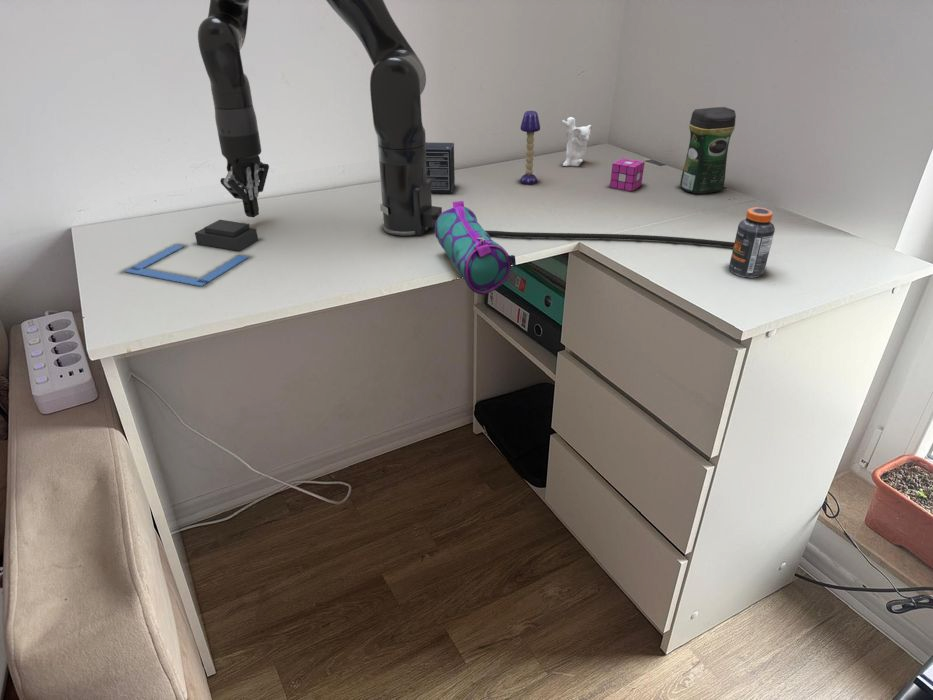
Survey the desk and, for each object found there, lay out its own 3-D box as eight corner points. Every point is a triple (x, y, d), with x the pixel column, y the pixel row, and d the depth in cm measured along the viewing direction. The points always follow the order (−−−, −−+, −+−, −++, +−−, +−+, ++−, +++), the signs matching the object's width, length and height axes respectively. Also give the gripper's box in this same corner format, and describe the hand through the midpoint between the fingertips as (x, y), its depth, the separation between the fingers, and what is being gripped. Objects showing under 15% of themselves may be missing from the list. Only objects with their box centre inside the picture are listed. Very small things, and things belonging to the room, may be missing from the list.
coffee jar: (708, 182, 162) (723, 102, 152) (728, 192, 155) (745, 110, 146) (673, 185, 160) (686, 105, 150) (691, 196, 153) (706, 112, 143)
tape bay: (248, 257, 124) (248, 256, 124) (201, 286, 114) (201, 285, 114) (175, 245, 129) (175, 244, 129) (124, 272, 119) (124, 271, 119)
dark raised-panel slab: (258, 240, 132) (255, 223, 130) (239, 251, 127) (236, 234, 125) (217, 233, 135) (213, 217, 133) (197, 244, 130) (193, 227, 128)
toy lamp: (538, 185, 160) (542, 114, 152) (518, 185, 160) (521, 114, 152) (536, 179, 164) (540, 109, 156) (517, 179, 164) (520, 109, 156)
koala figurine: (561, 168, 172) (565, 121, 166) (554, 161, 178) (557, 115, 171) (592, 167, 173) (597, 119, 167) (584, 159, 179) (589, 113, 172)
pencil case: (515, 292, 111) (517, 239, 106) (465, 300, 109) (464, 245, 104) (477, 246, 128) (477, 198, 123) (433, 252, 126) (431, 203, 121)
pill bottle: (723, 265, 121) (736, 205, 115) (754, 263, 121) (769, 204, 115) (737, 279, 116) (751, 217, 110) (769, 277, 116) (786, 216, 110)
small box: (455, 185, 160) (455, 141, 155) (452, 194, 155) (451, 149, 149) (412, 184, 161) (410, 140, 156) (407, 192, 156) (405, 147, 150)
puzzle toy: (619, 181, 163) (622, 158, 160) (641, 185, 160) (644, 161, 157) (609, 187, 159) (612, 163, 156) (631, 191, 156) (634, 167, 153)
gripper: (232, 140, 121) (248, 229, 130) (274, 124, 132) (286, 207, 141) (198, 136, 124) (216, 224, 133) (243, 120, 134) (257, 203, 143)
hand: (252, 215), depth 137 cm, fingers closed
